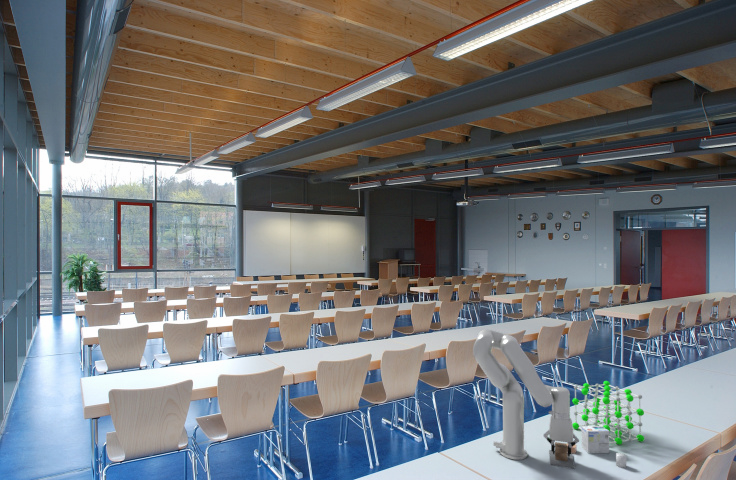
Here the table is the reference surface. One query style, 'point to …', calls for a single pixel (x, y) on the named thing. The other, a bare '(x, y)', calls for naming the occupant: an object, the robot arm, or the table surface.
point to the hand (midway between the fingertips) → (561, 453)
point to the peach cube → (572, 449)
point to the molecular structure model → (608, 409)
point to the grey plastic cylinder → (621, 460)
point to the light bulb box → (595, 439)
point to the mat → (567, 464)
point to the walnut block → (560, 451)
